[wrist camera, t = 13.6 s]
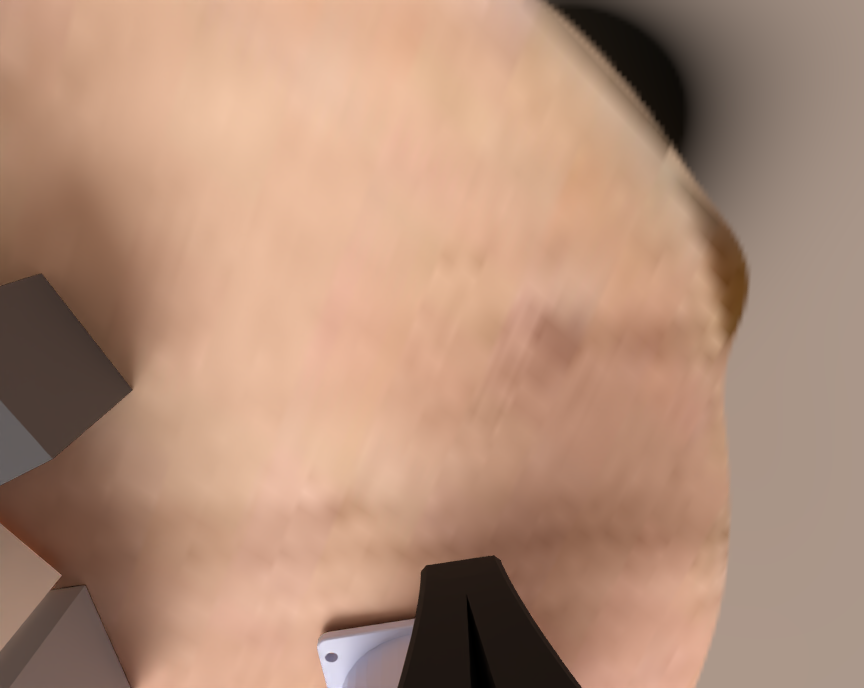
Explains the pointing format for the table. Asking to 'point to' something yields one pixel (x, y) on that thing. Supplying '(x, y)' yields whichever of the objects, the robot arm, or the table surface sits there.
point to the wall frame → (61, 647)
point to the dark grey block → (47, 377)
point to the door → (20, 583)
